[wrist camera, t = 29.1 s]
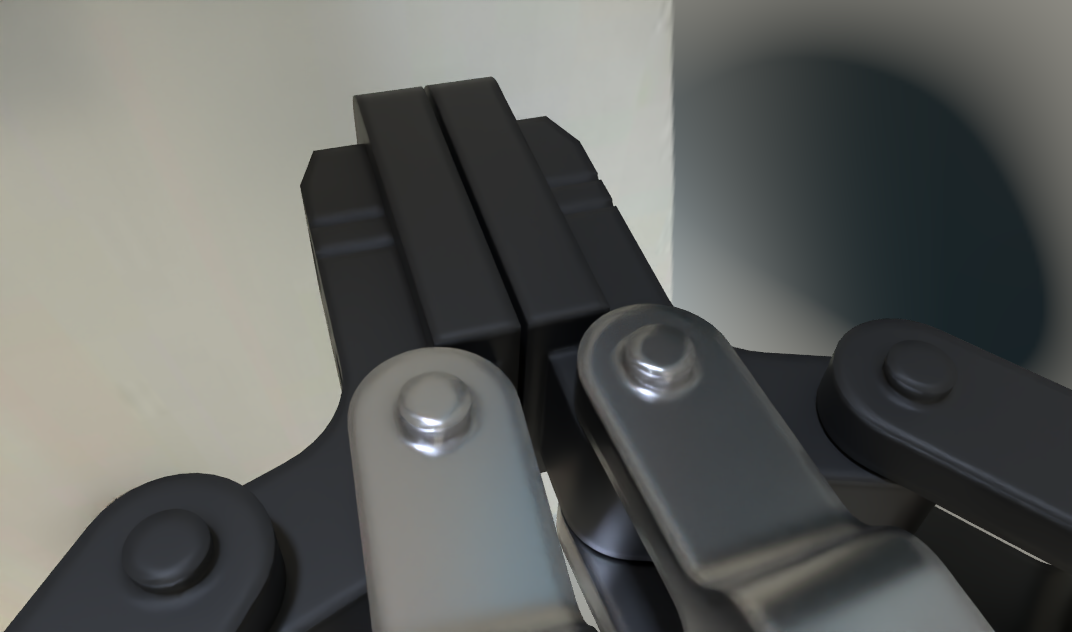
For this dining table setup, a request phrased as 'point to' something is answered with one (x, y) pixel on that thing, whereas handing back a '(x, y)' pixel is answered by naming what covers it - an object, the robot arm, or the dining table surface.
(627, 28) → the dining table surface
